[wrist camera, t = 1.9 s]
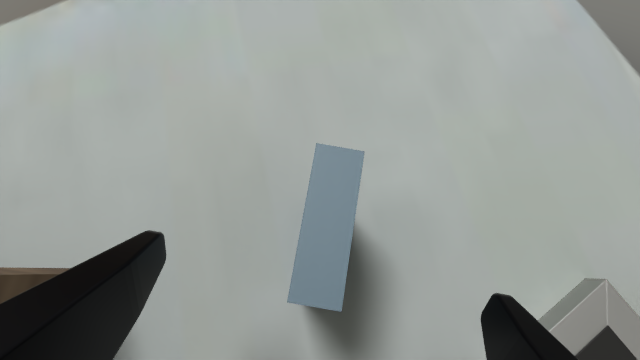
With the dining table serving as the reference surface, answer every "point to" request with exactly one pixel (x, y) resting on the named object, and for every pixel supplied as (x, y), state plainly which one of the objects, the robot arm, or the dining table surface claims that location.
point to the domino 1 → (23, 280)
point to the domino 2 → (327, 228)
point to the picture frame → (595, 323)
